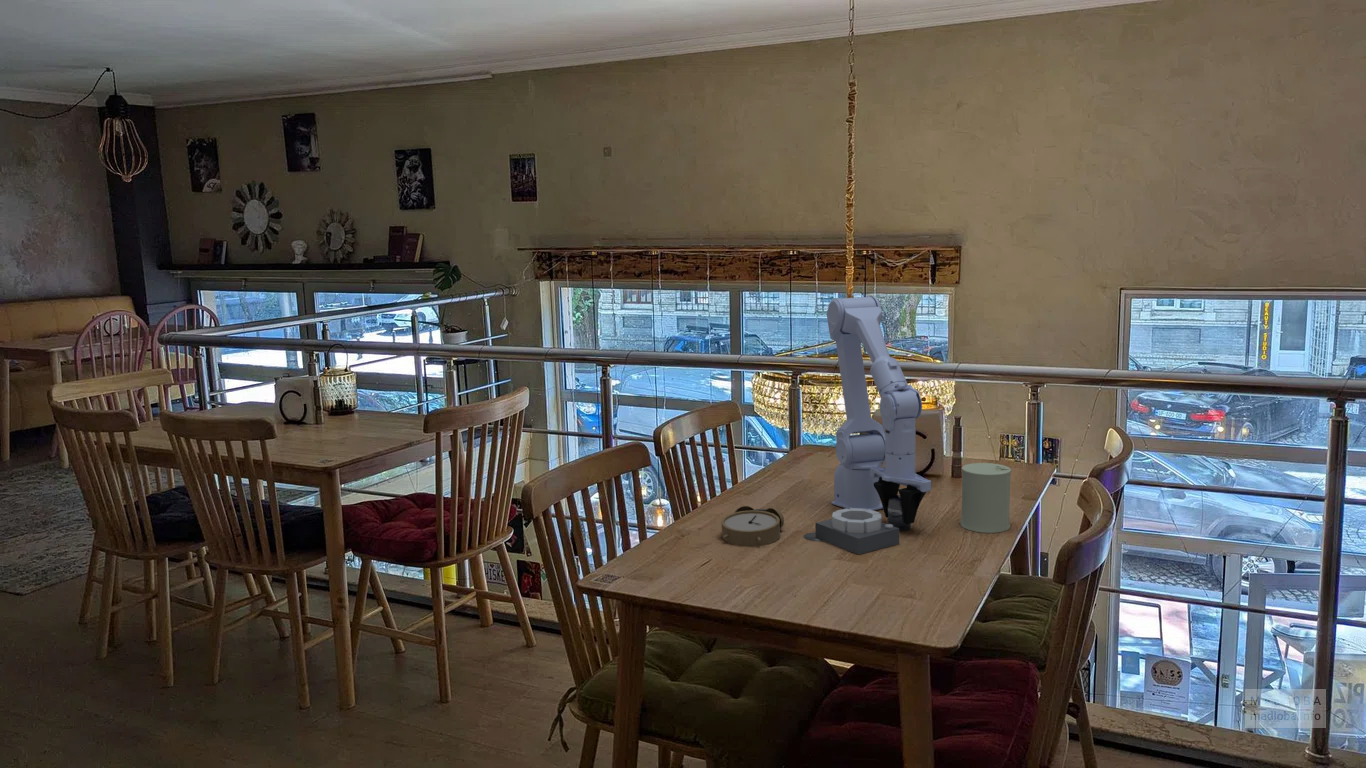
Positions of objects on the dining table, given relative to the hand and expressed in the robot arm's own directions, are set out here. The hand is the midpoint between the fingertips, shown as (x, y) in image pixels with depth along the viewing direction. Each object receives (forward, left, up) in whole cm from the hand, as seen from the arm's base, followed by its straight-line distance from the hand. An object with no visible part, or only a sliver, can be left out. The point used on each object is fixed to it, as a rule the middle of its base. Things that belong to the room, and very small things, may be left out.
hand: (899, 519), depth 189 cm
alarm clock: (-14, -25, -2) cm, 29 cm away
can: (+9, +14, -2) cm, 17 cm away
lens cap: (-5, -16, -2) cm, 17 cm away
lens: (0, 0, -2) cm, 2 cm away
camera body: (+1, -12, -2) cm, 12 cm away
